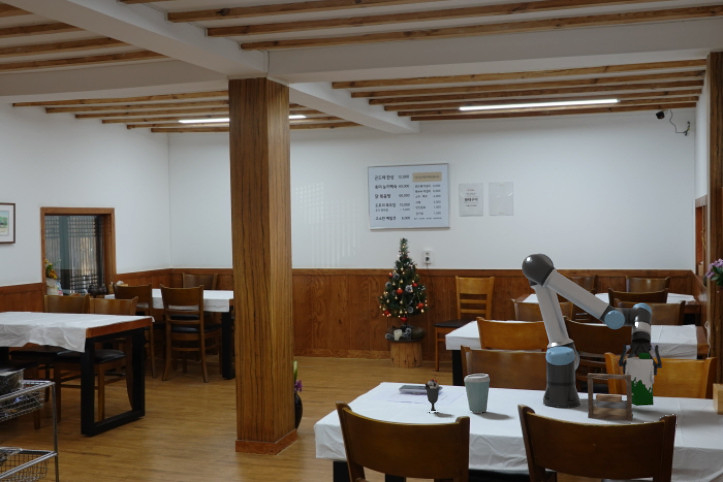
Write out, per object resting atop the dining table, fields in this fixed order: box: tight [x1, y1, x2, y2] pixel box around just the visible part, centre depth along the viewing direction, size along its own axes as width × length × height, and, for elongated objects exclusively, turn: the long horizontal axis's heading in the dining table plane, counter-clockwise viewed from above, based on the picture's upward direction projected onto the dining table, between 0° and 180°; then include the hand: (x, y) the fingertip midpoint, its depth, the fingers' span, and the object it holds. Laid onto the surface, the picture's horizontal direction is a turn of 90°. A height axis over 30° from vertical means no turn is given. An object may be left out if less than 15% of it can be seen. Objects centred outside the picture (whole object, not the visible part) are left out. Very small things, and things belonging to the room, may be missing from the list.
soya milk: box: [625, 352, 654, 407], centre depth 305 cm, size 9×9×20 cm
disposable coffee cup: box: [463, 373, 491, 414], centre depth 311 cm, size 11×11×15 cm
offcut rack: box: [587, 372, 634, 422], centre depth 295 cm, size 16×6×17 cm, turn 66°
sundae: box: [424, 374, 441, 411], centre depth 312 cm, size 7×7×15 cm
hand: (639, 380), depth 302 cm, fingers closed on soya milk, 9 cm apart
